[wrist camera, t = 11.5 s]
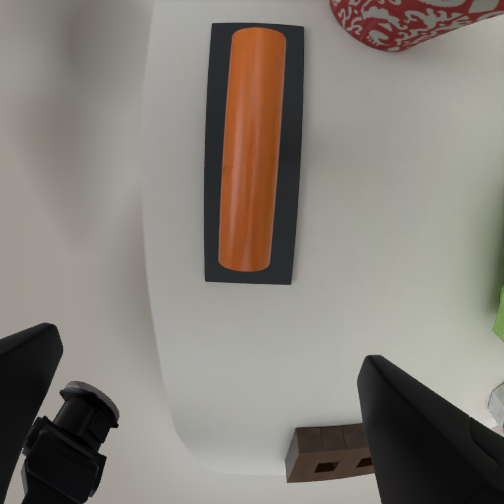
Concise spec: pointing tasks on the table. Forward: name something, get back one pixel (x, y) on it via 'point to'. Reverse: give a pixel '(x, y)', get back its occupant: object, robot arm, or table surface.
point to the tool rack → (328, 454)
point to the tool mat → (287, 162)
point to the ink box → (497, 405)
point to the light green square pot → (500, 317)
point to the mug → (409, 19)
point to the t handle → (251, 148)
